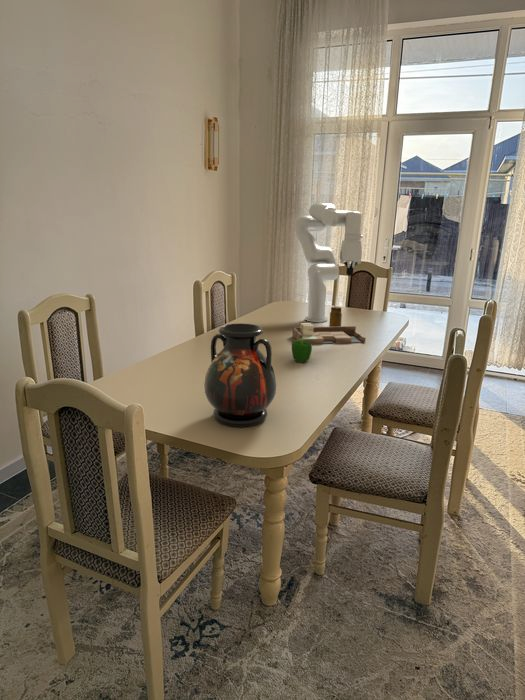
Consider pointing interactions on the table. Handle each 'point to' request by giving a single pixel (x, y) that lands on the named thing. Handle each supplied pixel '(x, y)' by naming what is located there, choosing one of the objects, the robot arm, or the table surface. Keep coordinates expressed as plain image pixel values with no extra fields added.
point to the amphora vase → (240, 376)
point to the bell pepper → (301, 350)
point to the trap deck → (330, 335)
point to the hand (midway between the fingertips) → (349, 275)
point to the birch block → (306, 329)
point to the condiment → (335, 317)
